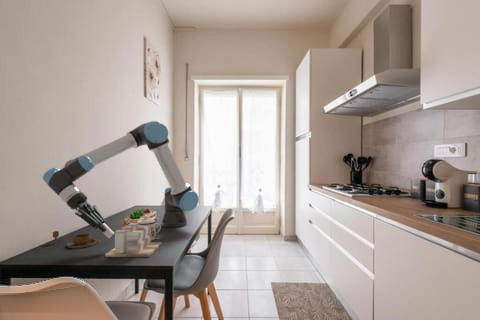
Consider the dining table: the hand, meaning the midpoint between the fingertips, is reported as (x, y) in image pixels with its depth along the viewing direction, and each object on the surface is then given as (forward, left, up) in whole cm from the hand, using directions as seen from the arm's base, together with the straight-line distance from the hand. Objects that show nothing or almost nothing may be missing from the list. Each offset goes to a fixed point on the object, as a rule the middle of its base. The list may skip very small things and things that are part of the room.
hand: (111, 235), depth 121 cm
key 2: (-7, +7, -5) cm, 11 cm away
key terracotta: (0, +7, -5) cm, 8 cm away
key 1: (+6, +7, -5) cm, 11 cm away
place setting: (-11, -21, -7) cm, 25 cm away
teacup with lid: (-18, +10, -6) cm, 22 cm away
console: (0, +10, -6) cm, 12 cm away
